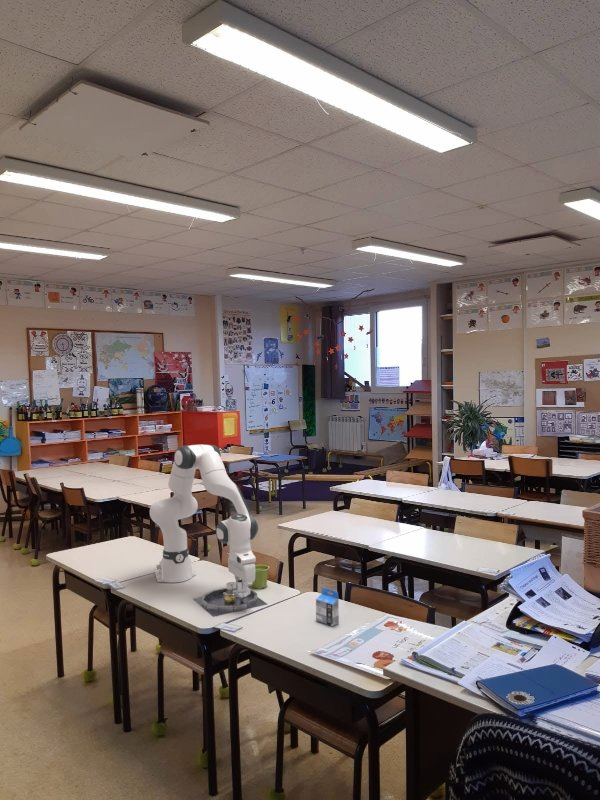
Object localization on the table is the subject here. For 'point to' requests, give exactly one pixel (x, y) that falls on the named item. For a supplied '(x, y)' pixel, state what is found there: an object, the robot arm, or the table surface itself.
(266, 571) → the plant pot
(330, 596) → the label tape box
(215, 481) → the robot arm
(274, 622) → the table surface
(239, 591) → the planet gear
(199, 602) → the carrier
